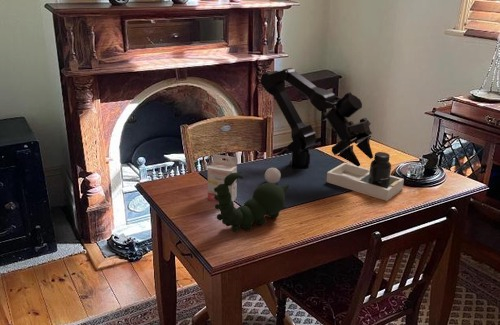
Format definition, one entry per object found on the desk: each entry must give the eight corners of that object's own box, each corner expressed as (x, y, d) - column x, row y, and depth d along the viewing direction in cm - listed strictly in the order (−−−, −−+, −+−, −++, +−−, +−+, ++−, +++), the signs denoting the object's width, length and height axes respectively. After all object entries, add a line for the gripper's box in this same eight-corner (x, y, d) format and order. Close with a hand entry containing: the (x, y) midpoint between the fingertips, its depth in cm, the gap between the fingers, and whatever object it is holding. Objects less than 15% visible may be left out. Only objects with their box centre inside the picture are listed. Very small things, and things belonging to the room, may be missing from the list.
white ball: (275, 178, 179) (276, 164, 177) (283, 184, 174) (283, 169, 172) (256, 182, 176) (256, 167, 174) (263, 188, 171) (264, 173, 169)
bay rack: (326, 182, 176) (327, 171, 175) (343, 171, 185) (344, 161, 183) (387, 201, 162) (388, 189, 161) (402, 189, 171) (404, 178, 169)
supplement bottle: (383, 193, 166) (387, 159, 161) (364, 187, 169) (367, 155, 165) (391, 186, 171) (395, 153, 166) (373, 181, 174) (376, 149, 170)
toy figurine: (231, 247, 139) (300, 214, 152) (225, 186, 131) (298, 157, 144) (212, 233, 146) (280, 203, 159) (206, 174, 138) (277, 147, 151)
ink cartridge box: (207, 200, 162) (206, 158, 156) (213, 194, 166) (212, 153, 161) (231, 204, 159) (231, 162, 154) (237, 198, 164) (237, 156, 158)
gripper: (342, 118, 160) (369, 158, 158) (369, 106, 174) (395, 143, 171) (320, 135, 168) (345, 174, 166) (347, 122, 181) (372, 158, 179)
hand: (365, 161), depth 170 cm, fingers open, 9 cm apart
